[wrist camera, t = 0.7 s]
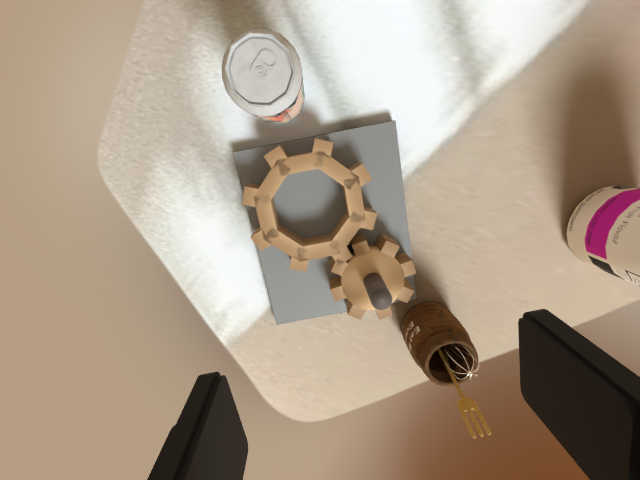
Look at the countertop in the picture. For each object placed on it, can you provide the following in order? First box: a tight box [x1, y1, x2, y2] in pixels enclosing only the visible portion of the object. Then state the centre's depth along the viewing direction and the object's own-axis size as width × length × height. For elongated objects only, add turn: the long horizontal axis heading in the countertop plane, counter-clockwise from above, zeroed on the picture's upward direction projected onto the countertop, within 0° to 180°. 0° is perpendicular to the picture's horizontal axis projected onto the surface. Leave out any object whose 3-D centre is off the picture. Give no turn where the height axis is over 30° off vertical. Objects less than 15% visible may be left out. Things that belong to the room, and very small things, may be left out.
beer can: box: [222, 29, 304, 124], centre depth 25 cm, size 5×5×12 cm
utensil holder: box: [402, 302, 491, 438], centre depth 32 cm, size 6×6×12 cm
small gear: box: [329, 233, 416, 320], centre depth 32 cm, size 8×8×6 cm
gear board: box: [233, 121, 417, 325], centre depth 34 cm, size 18×15×1 cm
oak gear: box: [242, 139, 377, 272], centre depth 32 cm, size 12×12×2 cm
